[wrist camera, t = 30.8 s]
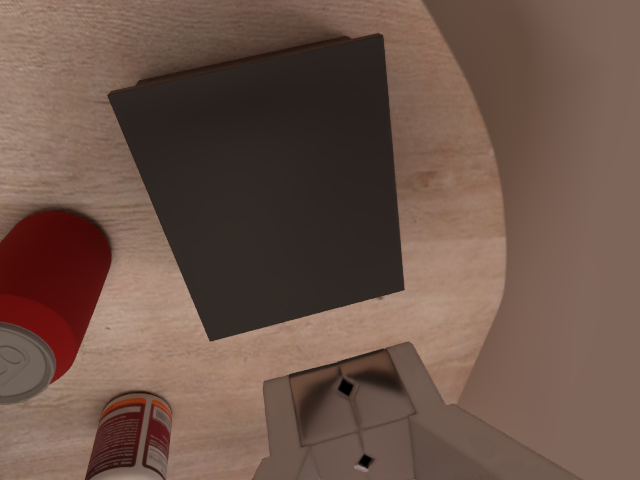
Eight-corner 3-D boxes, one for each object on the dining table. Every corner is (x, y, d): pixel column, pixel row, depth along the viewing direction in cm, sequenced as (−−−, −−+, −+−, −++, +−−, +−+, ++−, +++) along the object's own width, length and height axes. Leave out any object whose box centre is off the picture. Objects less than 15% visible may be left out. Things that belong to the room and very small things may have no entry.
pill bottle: (93, 430, 42) (58, 559, 33) (113, 384, 40) (80, 507, 30) (160, 440, 44) (145, 563, 35) (182, 397, 42) (172, 516, 33)
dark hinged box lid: (110, 91, 22) (106, 94, 21) (378, 33, 23) (383, 34, 22) (209, 333, 31) (209, 341, 30) (400, 283, 32) (404, 290, 31)
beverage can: (-13, 237, 31) (-124, 360, 21) (66, 188, 31) (-9, 290, 21) (61, 300, 35) (-4, 432, 25) (134, 257, 34) (97, 374, 24)
